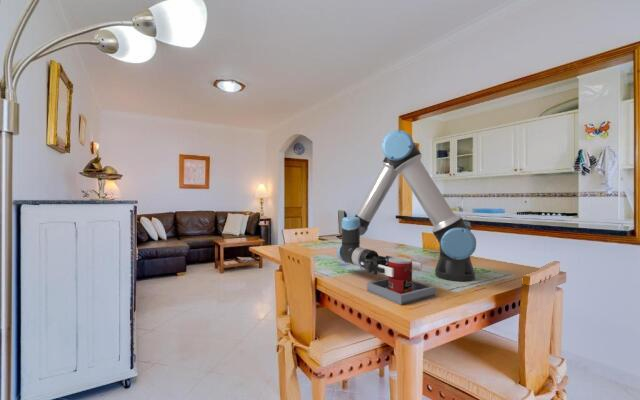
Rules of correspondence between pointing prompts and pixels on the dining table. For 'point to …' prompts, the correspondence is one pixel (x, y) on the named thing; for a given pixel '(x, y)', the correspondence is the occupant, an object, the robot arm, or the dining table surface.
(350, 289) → the dining table surface
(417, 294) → the tray
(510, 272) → the dining table surface
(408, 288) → the canned food
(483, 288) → the dining table surface
